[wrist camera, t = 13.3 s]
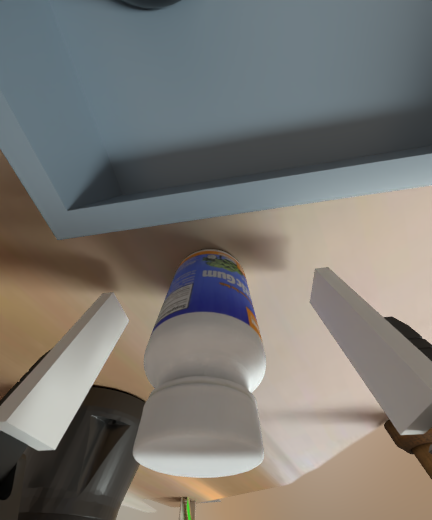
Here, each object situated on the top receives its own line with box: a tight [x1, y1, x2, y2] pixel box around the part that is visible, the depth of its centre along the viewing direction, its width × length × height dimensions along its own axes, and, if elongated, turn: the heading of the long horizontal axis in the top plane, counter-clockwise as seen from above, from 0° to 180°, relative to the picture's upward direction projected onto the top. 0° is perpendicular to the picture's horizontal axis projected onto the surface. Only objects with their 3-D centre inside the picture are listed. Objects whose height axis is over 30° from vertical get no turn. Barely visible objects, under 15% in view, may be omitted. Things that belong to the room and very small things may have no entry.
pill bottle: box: [133, 249, 266, 478], centre depth 9 cm, size 5×5×10 cm
